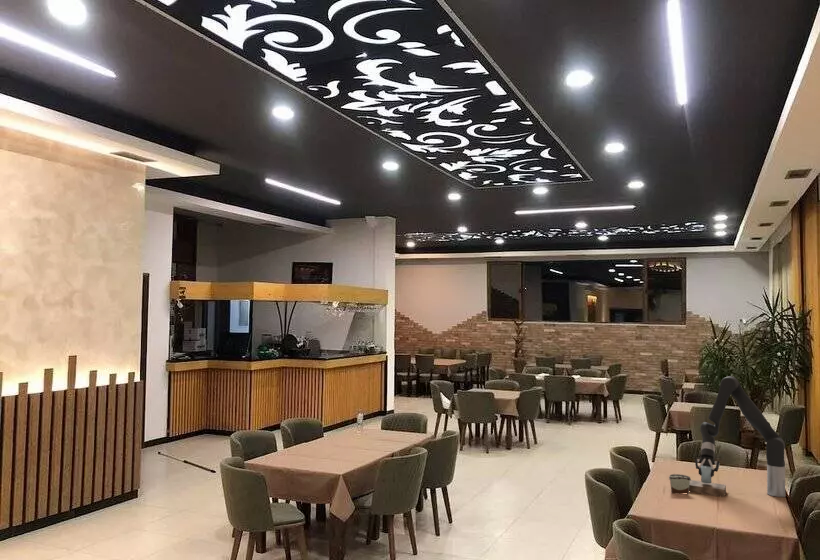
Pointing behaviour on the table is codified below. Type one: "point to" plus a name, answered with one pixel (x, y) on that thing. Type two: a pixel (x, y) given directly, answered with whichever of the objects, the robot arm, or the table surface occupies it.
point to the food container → (679, 483)
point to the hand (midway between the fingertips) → (706, 475)
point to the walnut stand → (707, 488)
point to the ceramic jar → (706, 474)
